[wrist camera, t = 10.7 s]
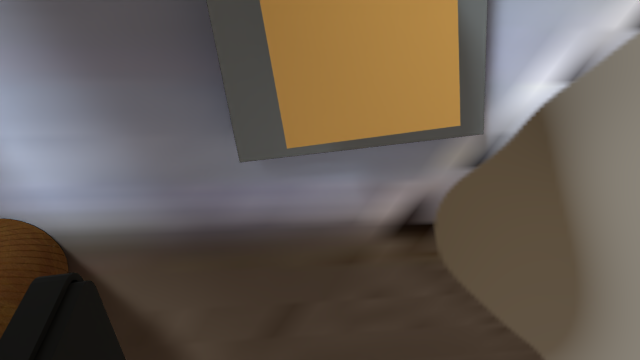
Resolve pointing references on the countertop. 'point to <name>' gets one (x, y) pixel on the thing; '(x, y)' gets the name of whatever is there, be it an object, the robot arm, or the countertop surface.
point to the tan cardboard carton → (363, 67)
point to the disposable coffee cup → (24, 263)
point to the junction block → (261, 97)
